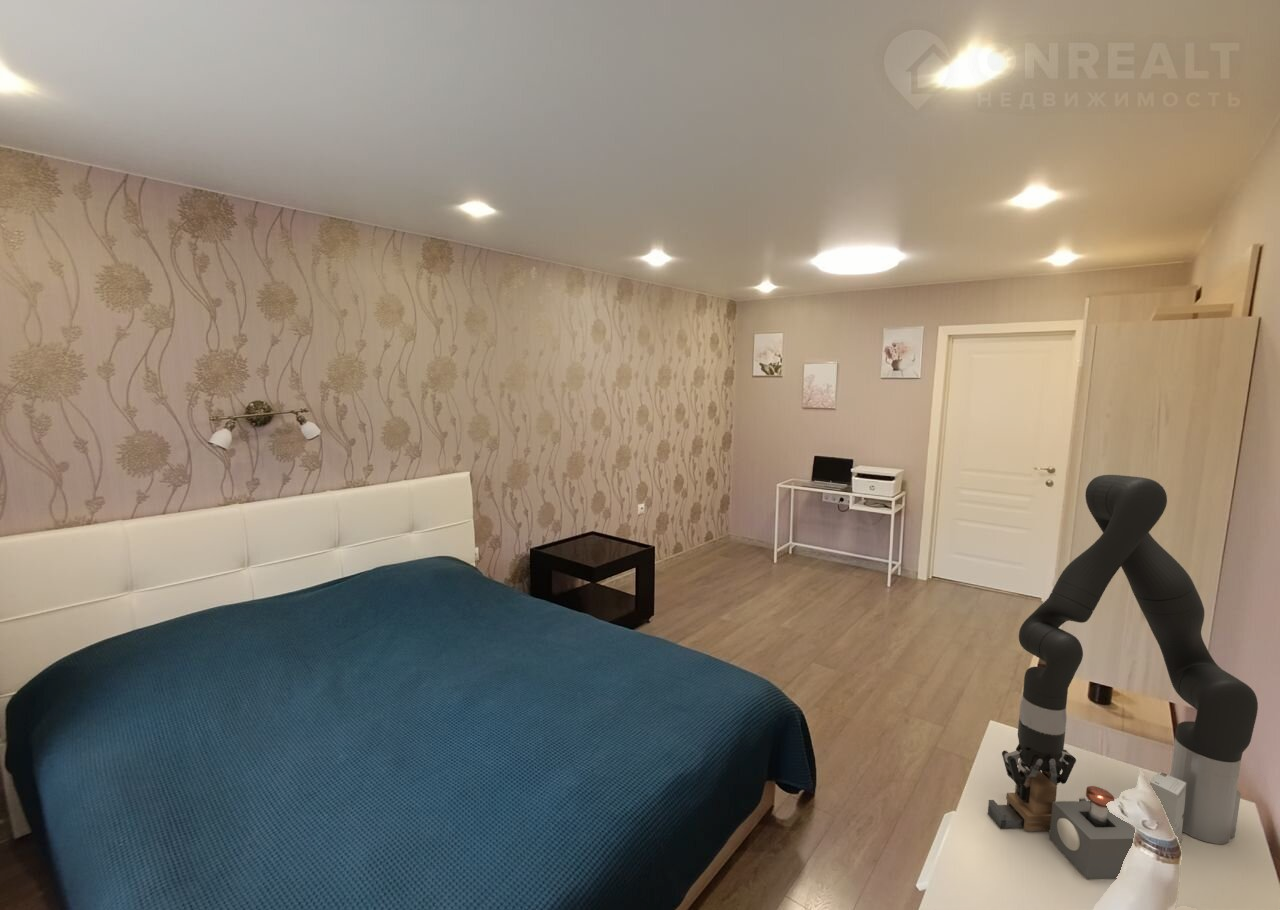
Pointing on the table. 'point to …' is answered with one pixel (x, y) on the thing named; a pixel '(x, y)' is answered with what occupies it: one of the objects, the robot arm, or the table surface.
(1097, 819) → the plunger
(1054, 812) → the cabinet
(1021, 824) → the rail
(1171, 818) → the skincare box
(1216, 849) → the table surface
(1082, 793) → the table surface
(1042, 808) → the stepped wooden block
